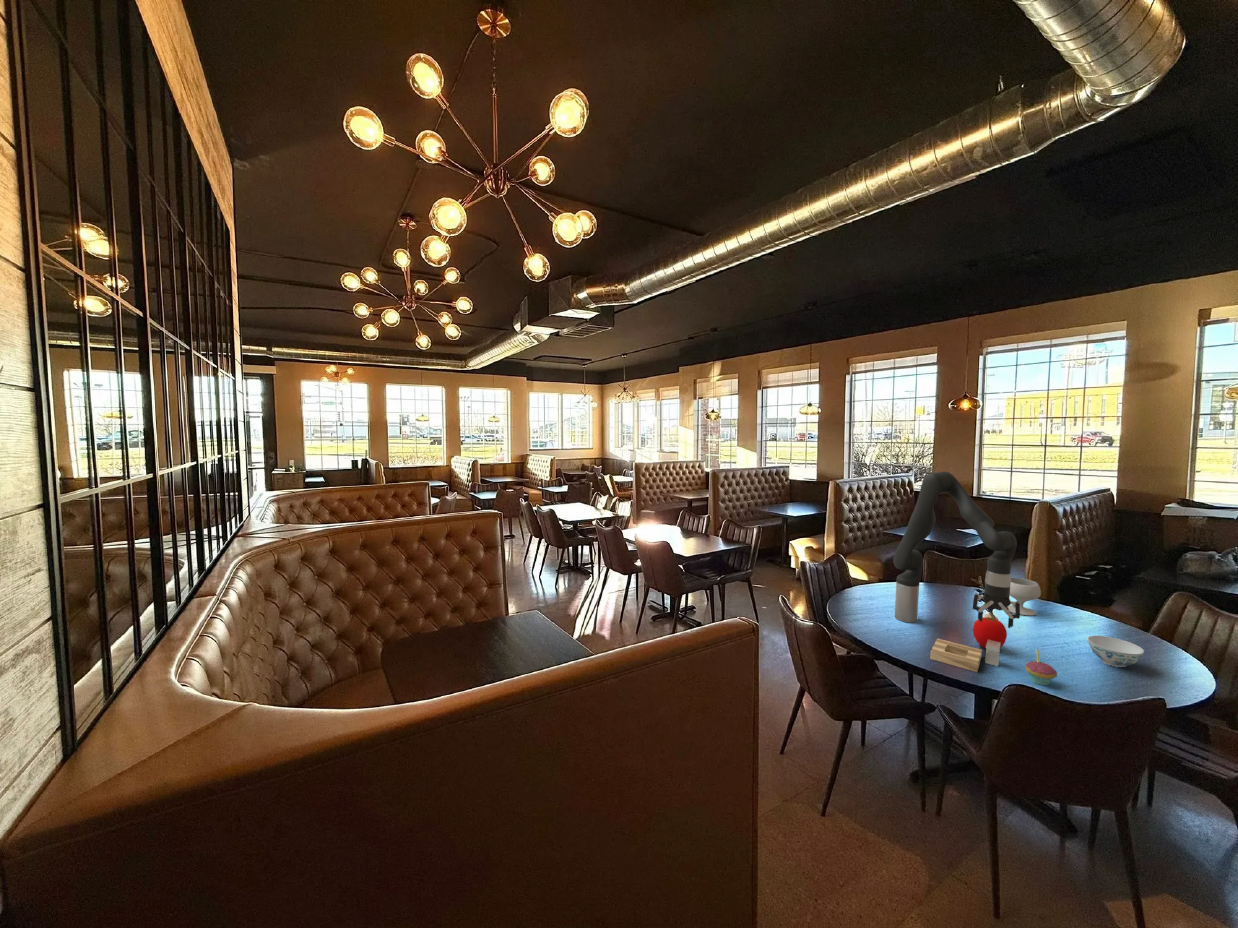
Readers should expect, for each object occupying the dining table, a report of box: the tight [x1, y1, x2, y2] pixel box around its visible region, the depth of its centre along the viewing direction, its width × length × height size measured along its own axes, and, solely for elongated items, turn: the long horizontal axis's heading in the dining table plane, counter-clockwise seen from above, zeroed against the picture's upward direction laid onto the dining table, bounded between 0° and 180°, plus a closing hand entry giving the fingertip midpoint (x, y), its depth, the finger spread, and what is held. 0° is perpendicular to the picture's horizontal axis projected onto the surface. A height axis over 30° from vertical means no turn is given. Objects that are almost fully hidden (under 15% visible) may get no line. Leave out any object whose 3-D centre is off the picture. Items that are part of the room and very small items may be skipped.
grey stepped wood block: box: [984, 640, 1001, 667], centre depth 185 cm, size 7×4×8 cm, turn 138°
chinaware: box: [1087, 635, 1145, 668], centre depth 184 cm, size 15×15×8 cm
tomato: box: [972, 616, 1008, 649], centre depth 196 cm, size 11×11×13 cm
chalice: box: [1008, 577, 1042, 617], centre depth 233 cm, size 14×14×15 cm
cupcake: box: [1024, 647, 1058, 686], centre depth 171 cm, size 9×8×12 cm
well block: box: [929, 638, 983, 673], centre depth 189 cm, size 15×15×3 cm
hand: (994, 624), depth 184 cm, fingers open, 8 cm apart
